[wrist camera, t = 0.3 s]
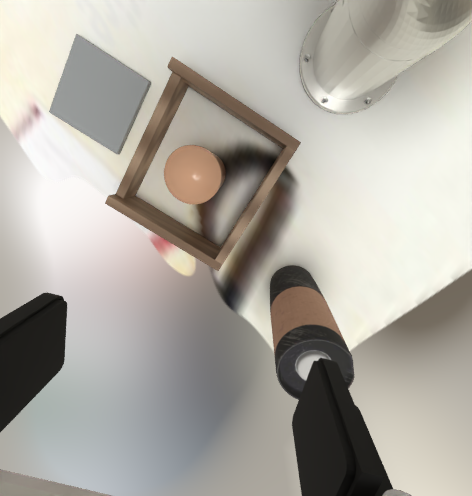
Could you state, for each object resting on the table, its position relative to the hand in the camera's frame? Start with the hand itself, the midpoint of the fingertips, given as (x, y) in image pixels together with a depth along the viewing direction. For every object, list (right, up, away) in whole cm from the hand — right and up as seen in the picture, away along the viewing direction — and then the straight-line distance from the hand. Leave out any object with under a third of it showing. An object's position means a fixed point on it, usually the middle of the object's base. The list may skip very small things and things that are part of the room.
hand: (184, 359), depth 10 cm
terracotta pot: (-3, +15, +31) cm, 35 cm away
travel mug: (+11, -2, +36) cm, 37 cm away
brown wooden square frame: (-3, +15, +31) cm, 35 cm away
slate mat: (-17, +25, +29) cm, 43 cm away
